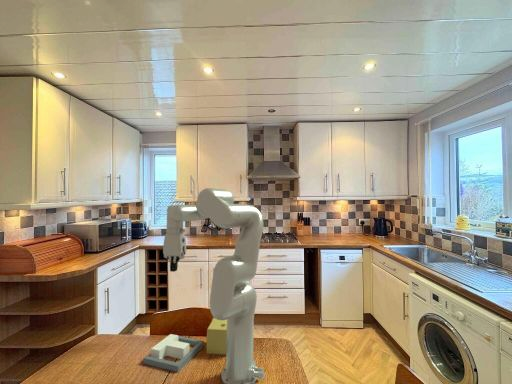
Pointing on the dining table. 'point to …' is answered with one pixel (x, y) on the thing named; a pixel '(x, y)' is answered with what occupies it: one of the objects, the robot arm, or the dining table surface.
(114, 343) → the dining table surface
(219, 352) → the cheese
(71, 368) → the dining table surface
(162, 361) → the frame
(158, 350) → the t block
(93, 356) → the dining table surface
